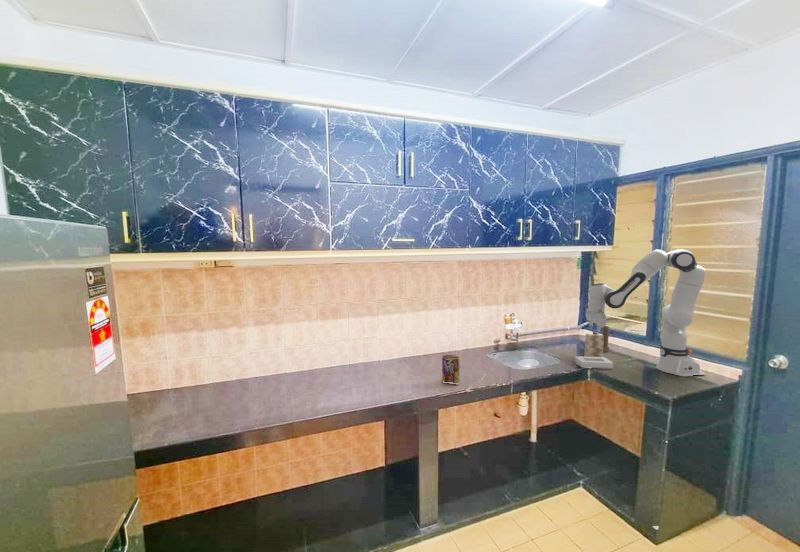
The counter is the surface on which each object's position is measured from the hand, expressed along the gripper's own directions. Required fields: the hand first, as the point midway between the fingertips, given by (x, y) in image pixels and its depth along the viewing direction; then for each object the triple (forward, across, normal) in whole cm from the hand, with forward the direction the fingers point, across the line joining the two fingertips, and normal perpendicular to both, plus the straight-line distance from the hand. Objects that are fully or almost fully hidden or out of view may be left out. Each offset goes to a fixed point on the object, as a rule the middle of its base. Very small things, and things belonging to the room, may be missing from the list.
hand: (594, 329), depth 216 cm
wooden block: (+20, +14, -12) cm, 27 cm away
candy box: (+21, -46, +94) cm, 107 cm away
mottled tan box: (+20, 0, 0) cm, 20 cm away
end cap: (+20, -13, +6) cm, 24 cm away
